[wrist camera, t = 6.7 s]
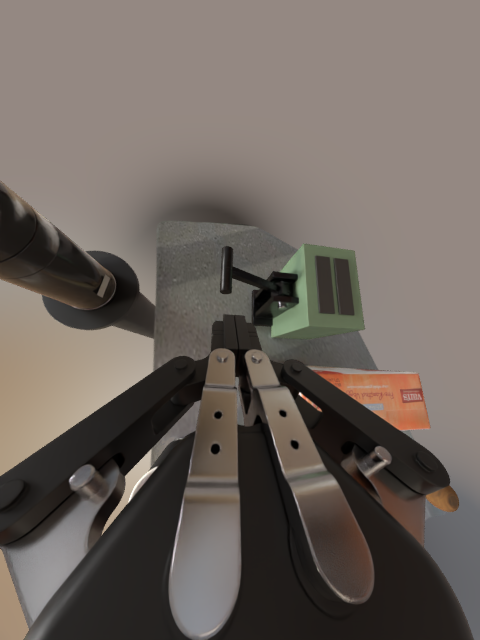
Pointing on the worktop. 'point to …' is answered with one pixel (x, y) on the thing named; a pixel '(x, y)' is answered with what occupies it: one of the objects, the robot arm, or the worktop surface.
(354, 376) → the cracker box
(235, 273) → the toaster lever
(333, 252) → the toaster
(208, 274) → the worktop surface
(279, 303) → the lever bracket
